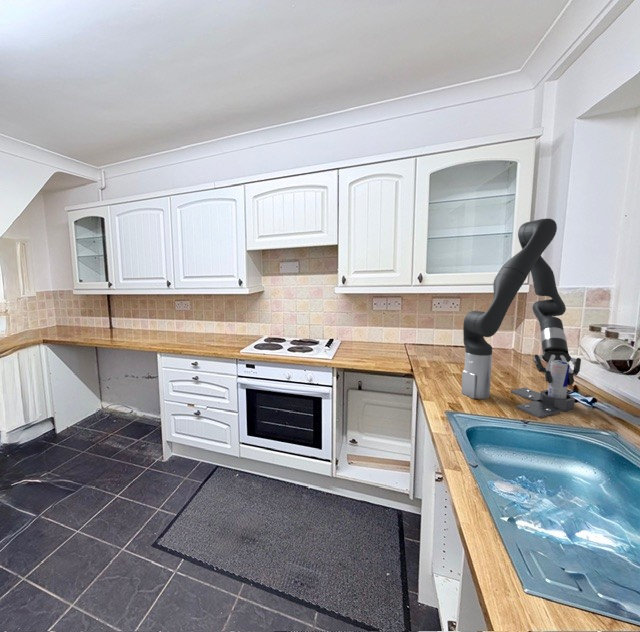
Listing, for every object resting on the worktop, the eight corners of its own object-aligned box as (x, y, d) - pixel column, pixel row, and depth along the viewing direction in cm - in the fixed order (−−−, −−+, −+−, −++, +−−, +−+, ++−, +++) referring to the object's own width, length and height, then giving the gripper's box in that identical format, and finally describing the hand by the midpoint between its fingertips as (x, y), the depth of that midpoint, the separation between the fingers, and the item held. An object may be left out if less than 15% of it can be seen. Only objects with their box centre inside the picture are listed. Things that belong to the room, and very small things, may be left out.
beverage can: (569, 403, 104) (573, 362, 101) (558, 405, 102) (562, 364, 100) (554, 397, 108) (557, 358, 106) (544, 400, 107) (547, 360, 105)
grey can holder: (540, 418, 96) (541, 407, 96) (490, 396, 114) (491, 386, 114) (579, 408, 103) (580, 397, 102) (525, 389, 120) (526, 379, 120)
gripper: (532, 335, 112) (537, 376, 103) (581, 338, 105) (590, 381, 97) (529, 345, 117) (532, 385, 108) (574, 349, 111) (583, 390, 102)
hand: (560, 383), depth 102 cm, fingers closed on beverage can, 5 cm apart
